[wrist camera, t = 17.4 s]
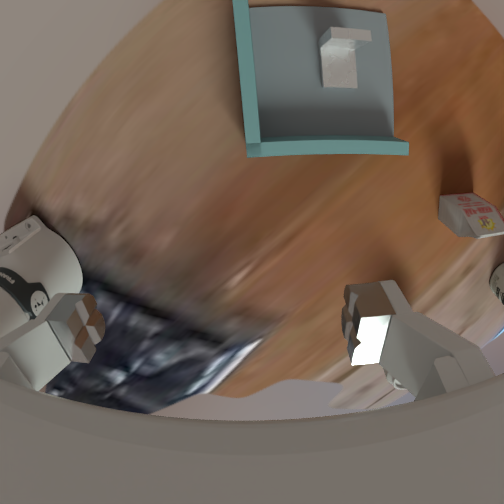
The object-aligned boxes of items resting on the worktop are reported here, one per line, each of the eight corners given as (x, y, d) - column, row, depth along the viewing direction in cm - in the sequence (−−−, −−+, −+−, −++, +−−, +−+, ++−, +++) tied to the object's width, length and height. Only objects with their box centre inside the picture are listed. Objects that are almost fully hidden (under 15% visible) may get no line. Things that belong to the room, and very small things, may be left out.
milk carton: (471, 214, 37) (508, 244, 28) (438, 219, 38) (474, 251, 29) (473, 192, 35) (513, 218, 26) (439, 195, 36) (479, 223, 27)
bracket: (317, 40, 27) (330, 26, 21) (350, 42, 27) (370, 30, 21) (321, 87, 30) (335, 84, 24) (354, 88, 30) (375, 86, 24)
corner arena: (249, 150, 35) (247, 157, 30) (236, 10, 26) (232, -3, 22) (391, 147, 33) (408, 155, 29) (383, 15, 25) (399, 5, 20)
